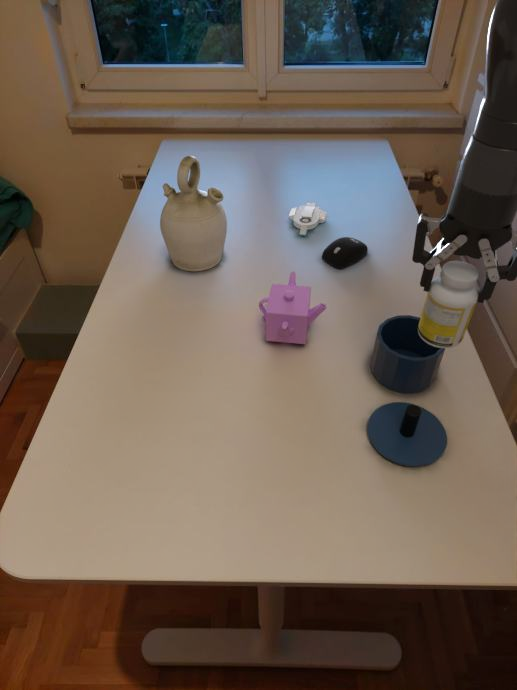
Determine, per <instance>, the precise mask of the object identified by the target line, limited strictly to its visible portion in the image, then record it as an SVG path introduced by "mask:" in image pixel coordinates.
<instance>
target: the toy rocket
mask: <svg viewBox="0 0 517 690" xmlns="http://www.w3.org/2000/svg"><path fill="white" fill-rule="evenodd" d="M327 215H328V212H327V211H325V210H323V209H321V206H317V202H308V201H307V202H306V205H305V204H301V206H298V207H292V208H291V209H290V212H289V213H288V219H289V220H291V221H293V226H294V227H295V228H297V229H299V235H298V236H302V237H306V236H307V234H308V231H309V230H312V229H315V228H317V226H318V225H319V224H324V223H325V222H326V219H327Z"/></svg>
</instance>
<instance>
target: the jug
mask: <svg viewBox="0 0 517 690" xmlns="http://www.w3.org/2000/svg"><path fill="white" fill-rule="evenodd" d="M200 178H201V165H200V161H199V159H197V158H196V157H195V156H193V155H186V156H184V157H183V158H182V159H181V161H180V163H179V165H178V168H177V175H176V182H177V183H176V184H177V187H178V189H179V191H176V187H174V186H172V185H170V184H168V183H167V182H166V183H163V185H162V189H163V192H164V193H163V196H164V197H166V198H167V200H166V202H165V203H164V205H163V208H162V209H161V213H160V218H159V228H160V232H161V235H162V236H161V237H162V239H163V241H164V244H165V247H166V250H167V253H168V255H169V257H170V259H171V262H172V264H173V265H174V266H175V267H176V268H178V270H179V269H180V270H182V271H185V272H202V271H206V270H210V269H212V268H215V267H216V266H217V265H218V264H220V262H221V260H222V258H223V253H224V248H225V243H226V238H227V232H228V231H227V230H228V229H227V228H228V220H227V218H228V217H227V214H226V211H225V208H224V206H223V205H222V203H221V202H223V200H224V194H223V192H222V191H221V190H220V189H218V188H216V187H209V188H208V189H207V191H205V190H202V189H199V188H198V186H199V182H200Z"/></svg>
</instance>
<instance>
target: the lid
mask: <svg viewBox="0 0 517 690" xmlns="http://www.w3.org/2000/svg"><path fill="white" fill-rule="evenodd" d="M366 426H367V427H366V432H367V436H368V437H367V438H368V439H369V442H370V443H371V445H372V446H373V448H374V450H375V451H377V452H378V453H379V455H381V456H382V457H384V458H385V459H387V460H388V461H390V462H392V463H393V464H394V463H395V464H397V465H401V466H405V467H411V468H417V467H425V466H428V465H431V464H434V463H435V462H436V461H438V460H440V458H441V457H442V456H443V454H444V453H445V452H446V448H447V444H448V435H447V431H446V429H445V427H444V425H443V423H442V422H441V421H440V420H439V418H438V417H437V416H436V415H435V414H434V413H432V412H431V411H429V410H428V409H426V408H424V407H422V406H420V405H418V404H414V403H412V402H411V403H410V402H406V401H405V402H404V401H394V402H389V403H385V404H383V405H380V406H379V407H377V408H376V409H374V411H373V412H372V413H371V414H370V415H369V418H368V421H367V425H366Z"/></svg>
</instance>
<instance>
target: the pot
mask: <svg viewBox="0 0 517 690" xmlns="http://www.w3.org/2000/svg"><path fill="white" fill-rule="evenodd" d="M420 318H421V316H420V317H419V316H415V315H409V314H406V315H405V314H404V315H394V316H392V317H388V318H386V319H385V320H383V321H382V322H381V323H380V324H379V325H378V328H377V331H376V334H375V335H376V336H375V340H374V345H373V350H372V355H371V360H370V371H371V374H372V376H373V378H374V380H376V382H378V383H379V385H381V386H382V387H384V388H386V389H388V390H390V391H392V392H395V393H398V394H399V393H400V394H405V395H407V394H411V395H412V394H418V393H422V392H424V391H426V390H428V389H429V388H430V387H431V386H432V385H433V383H434V382H435V380H436V377H437V374H438V371H439V369H440V365H441V363H442V360H443V358H444V357H443V356H444V354H445V350H446V348H438V347H434V346H432V345H429V344H428V343H426V342H425V341H424V340H423V339H422V338H421V337H420V335H419V333H418V325H419V321H420Z"/></svg>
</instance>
